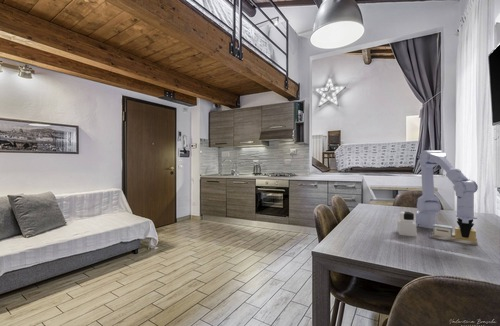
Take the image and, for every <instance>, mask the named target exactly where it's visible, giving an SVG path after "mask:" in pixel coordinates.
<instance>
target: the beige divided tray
mask: <svg viewBox="0 0 500 326" xmlns="http://www.w3.org/2000/svg"><path fill="white" fill-rule="evenodd" d="M431 238H433V239H438V240H444V241H449V242H456V243H460V244H466V245H473V246H478V244H479V243H478V238H477V237H476V242H474V241H468V240H462V239H456V238H455V231H452V238H450V237H444V236H438V235H433V234H431Z"/></svg>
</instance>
